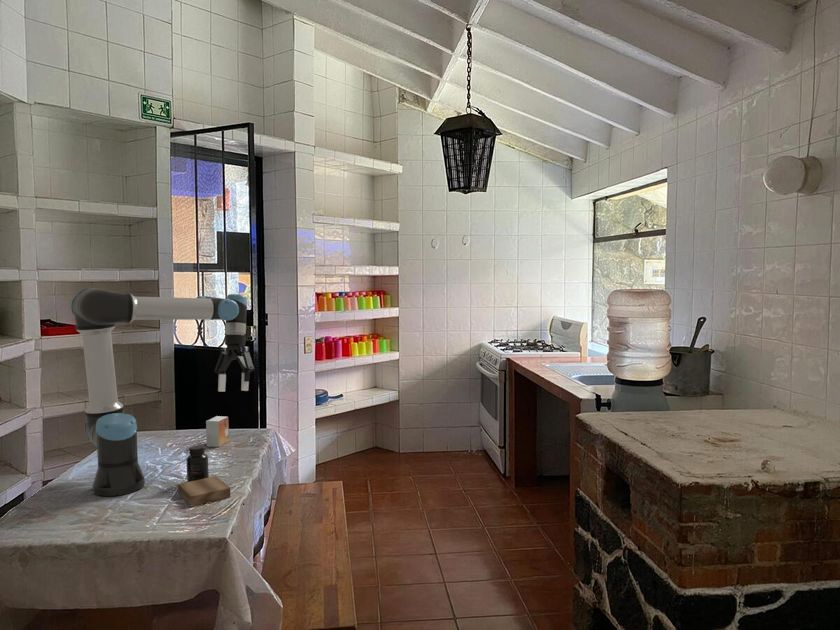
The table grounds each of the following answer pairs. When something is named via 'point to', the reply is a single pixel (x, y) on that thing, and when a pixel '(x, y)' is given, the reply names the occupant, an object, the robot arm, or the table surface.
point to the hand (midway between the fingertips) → (232, 391)
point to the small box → (217, 431)
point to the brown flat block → (204, 490)
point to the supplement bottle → (197, 464)
